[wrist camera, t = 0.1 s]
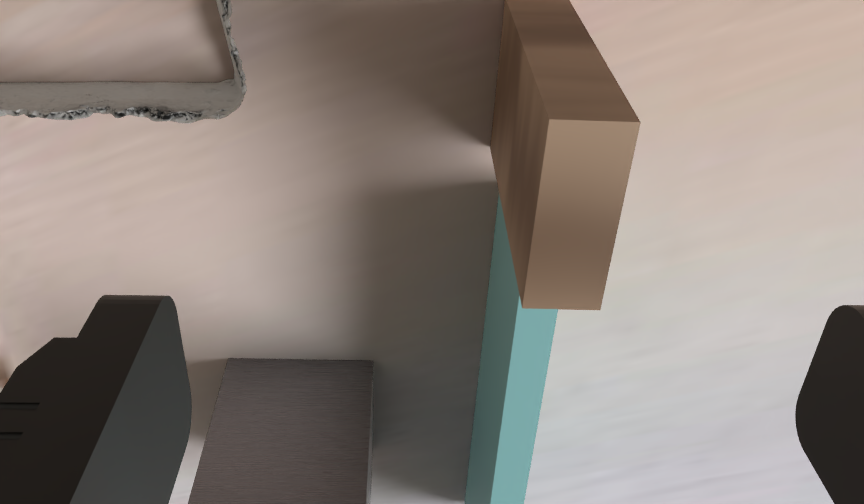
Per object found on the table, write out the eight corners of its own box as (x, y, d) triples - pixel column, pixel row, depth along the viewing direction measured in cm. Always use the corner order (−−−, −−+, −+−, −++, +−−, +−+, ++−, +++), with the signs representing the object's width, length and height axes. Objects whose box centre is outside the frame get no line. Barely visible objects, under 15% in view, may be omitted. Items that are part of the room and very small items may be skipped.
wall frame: (505, -3, 24) (549, 119, 17) (568, -1, 24) (640, 122, 17) (490, 147, 27) (522, 308, 20) (546, 149, 27) (600, 310, 20)
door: (499, 187, 28) (520, 290, 23) (533, 188, 28) (561, 291, 23) (463, 513, 38) (472, 633, 33) (488, 513, 38) (500, 633, 33)
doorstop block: (228, 357, 32) (183, 520, 26) (373, 360, 33) (365, 522, 26) (240, 448, 36) (202, 615, 29) (372, 450, 36) (365, 615, 29)
